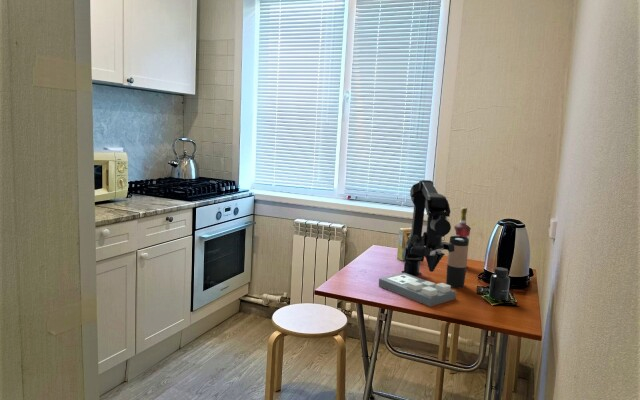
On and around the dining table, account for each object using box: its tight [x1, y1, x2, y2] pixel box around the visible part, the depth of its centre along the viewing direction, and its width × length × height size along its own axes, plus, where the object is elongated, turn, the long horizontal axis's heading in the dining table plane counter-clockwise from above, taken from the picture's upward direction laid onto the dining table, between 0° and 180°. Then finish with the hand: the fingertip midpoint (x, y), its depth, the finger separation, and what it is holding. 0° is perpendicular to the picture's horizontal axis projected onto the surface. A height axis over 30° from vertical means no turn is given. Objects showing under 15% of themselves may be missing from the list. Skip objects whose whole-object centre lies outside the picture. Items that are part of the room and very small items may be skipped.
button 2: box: [421, 280, 437, 287], centre depth 183 cm, size 4×4×3 cm
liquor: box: [453, 207, 471, 240], centre depth 219 cm, size 7×7×28 cm
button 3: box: [421, 286, 437, 297], centre depth 173 cm, size 4×4×3 cm
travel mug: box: [445, 235, 470, 289], centre depth 192 cm, size 8×8×20 cm
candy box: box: [396, 227, 412, 261], centre depth 229 cm, size 9×4×15 cm, turn 113°
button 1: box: [407, 281, 423, 291], centre depth 178 cm, size 4×4×3 cm
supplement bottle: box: [488, 266, 511, 301], centre depth 179 cm, size 7×7×12 cm
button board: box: [378, 272, 457, 307], centre depth 183 cm, size 15×26×3 cm, turn 38°
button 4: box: [435, 282, 452, 293], centre depth 178 cm, size 4×4×3 cm
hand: (431, 271), depth 174 cm, fingers closed
